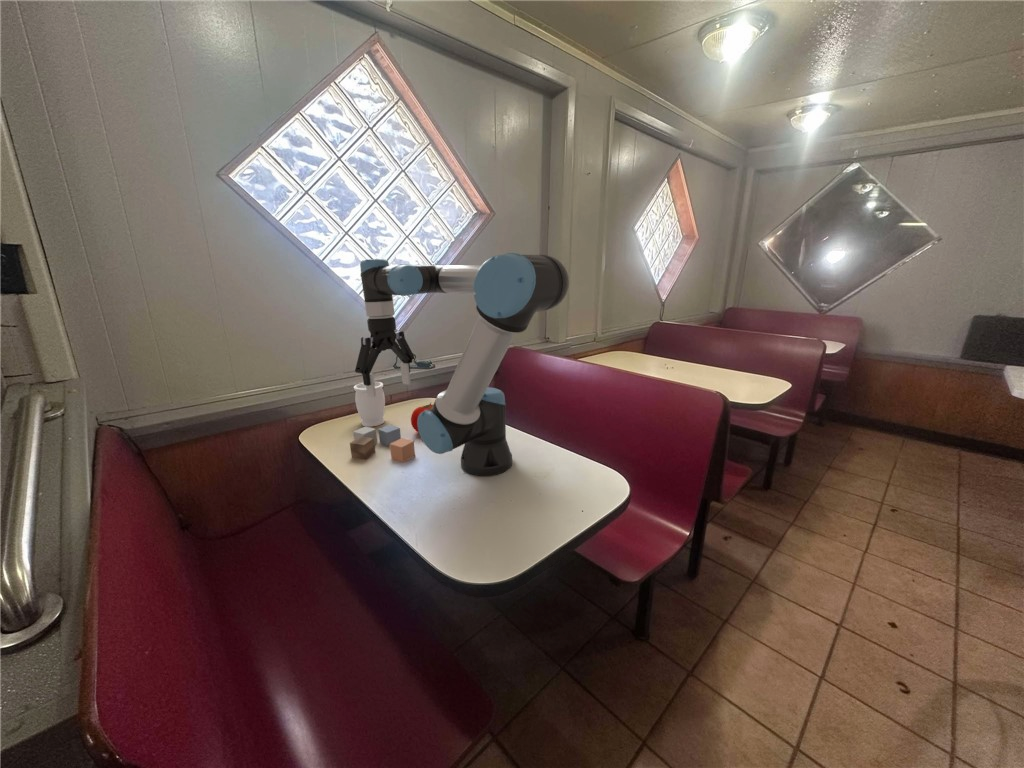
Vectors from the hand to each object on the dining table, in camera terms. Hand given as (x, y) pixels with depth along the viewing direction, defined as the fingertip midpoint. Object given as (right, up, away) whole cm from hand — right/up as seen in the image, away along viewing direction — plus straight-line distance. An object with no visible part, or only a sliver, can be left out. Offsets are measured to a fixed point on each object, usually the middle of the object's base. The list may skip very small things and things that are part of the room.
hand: (390, 389), depth 117 cm
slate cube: (-5, -18, +17) cm, 25 cm away
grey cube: (-13, -18, +15) cm, 27 cm away
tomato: (+7, -16, +24) cm, 30 cm away
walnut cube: (-11, -21, +7) cm, 24 cm away
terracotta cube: (+2, -21, +6) cm, 22 cm away
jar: (-17, -13, +33) cm, 40 cm away
